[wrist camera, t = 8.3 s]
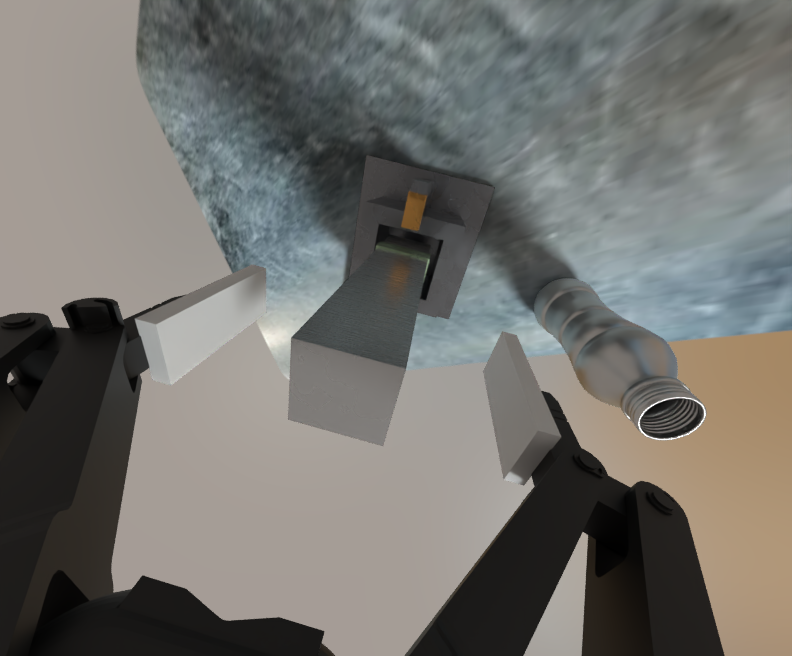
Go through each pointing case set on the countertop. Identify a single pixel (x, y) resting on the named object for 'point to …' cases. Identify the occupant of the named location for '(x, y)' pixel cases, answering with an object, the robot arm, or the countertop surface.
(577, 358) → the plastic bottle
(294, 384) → the column
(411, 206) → the stand
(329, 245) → the countertop surface
